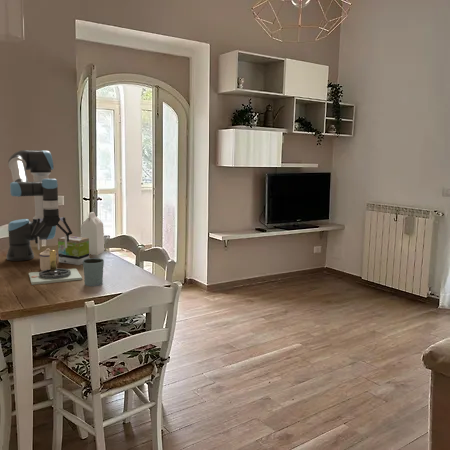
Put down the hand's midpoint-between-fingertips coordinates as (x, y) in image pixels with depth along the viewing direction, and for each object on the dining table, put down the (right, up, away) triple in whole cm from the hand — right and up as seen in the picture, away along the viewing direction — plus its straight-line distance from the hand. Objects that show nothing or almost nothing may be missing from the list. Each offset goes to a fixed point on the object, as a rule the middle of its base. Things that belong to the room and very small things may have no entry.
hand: (52, 248), depth 248 cm
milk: (+5, -6, +56) cm, 56 cm away
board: (+3, -15, -4) cm, 15 cm away
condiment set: (-7, -12, +14) cm, 19 cm away
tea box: (+2, -10, +29) cm, 31 cm away
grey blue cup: (+26, -17, -14) cm, 34 cm away
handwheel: (+2, -13, -4) cm, 14 cm away
